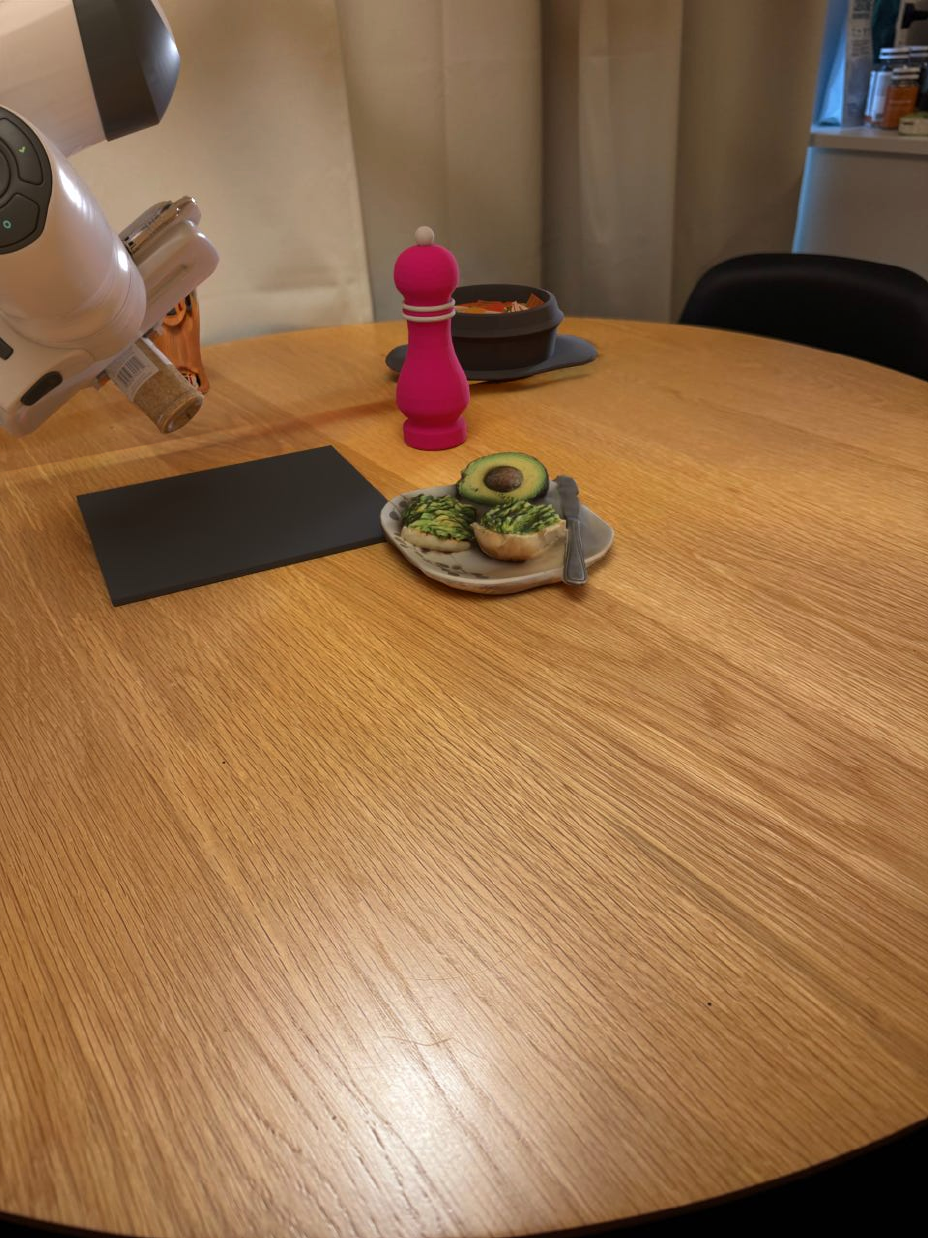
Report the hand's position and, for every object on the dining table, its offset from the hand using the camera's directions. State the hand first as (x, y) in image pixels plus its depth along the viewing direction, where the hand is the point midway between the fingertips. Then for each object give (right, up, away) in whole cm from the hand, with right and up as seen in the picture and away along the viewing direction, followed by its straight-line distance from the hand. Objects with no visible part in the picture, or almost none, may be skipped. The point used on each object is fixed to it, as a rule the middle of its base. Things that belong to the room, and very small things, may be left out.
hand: (124, 354), depth 77 cm
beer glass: (-6, +5, +36) cm, 36 cm away
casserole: (+30, +8, +38) cm, 50 cm away
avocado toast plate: (+30, -15, 0) cm, 33 cm away
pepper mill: (+24, -3, +20) cm, 31 cm away
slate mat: (+8, -12, +6) cm, 16 cm away
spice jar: (+5, -5, 0) cm, 7 cm away
